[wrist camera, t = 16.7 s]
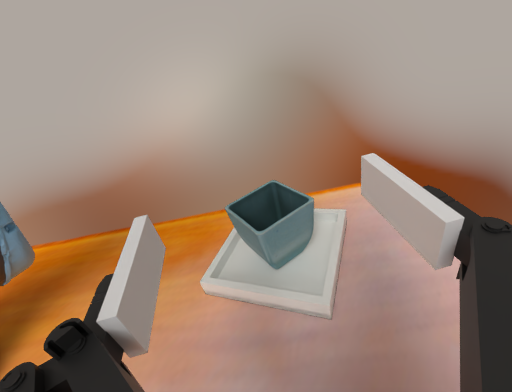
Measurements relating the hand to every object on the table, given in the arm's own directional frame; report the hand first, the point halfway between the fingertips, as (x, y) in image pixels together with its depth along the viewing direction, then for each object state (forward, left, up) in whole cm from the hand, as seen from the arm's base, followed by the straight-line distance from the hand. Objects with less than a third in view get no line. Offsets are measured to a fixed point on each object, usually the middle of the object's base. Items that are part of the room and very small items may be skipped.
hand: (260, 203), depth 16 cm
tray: (-7, +14, -20) cm, 25 cm away
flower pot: (-7, +14, -19) cm, 25 cm away
